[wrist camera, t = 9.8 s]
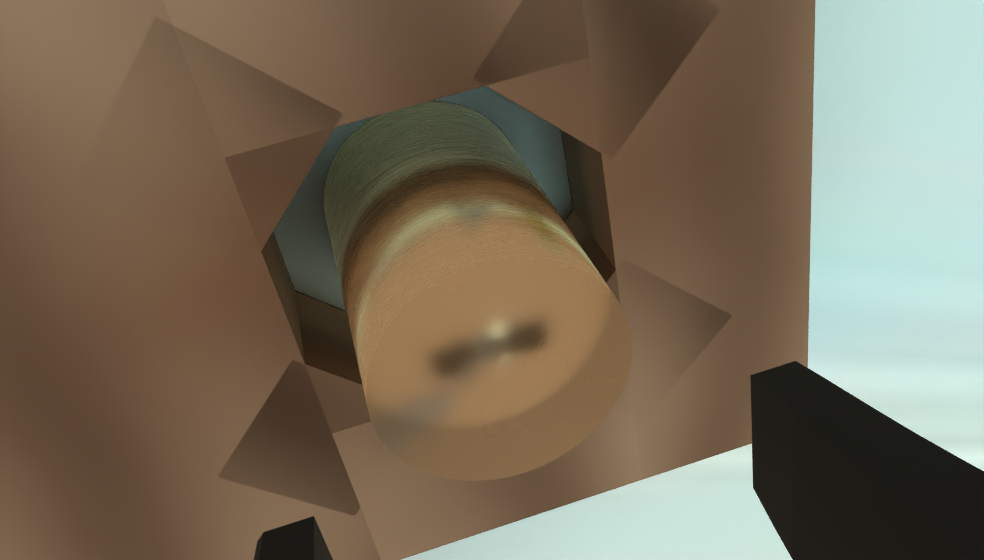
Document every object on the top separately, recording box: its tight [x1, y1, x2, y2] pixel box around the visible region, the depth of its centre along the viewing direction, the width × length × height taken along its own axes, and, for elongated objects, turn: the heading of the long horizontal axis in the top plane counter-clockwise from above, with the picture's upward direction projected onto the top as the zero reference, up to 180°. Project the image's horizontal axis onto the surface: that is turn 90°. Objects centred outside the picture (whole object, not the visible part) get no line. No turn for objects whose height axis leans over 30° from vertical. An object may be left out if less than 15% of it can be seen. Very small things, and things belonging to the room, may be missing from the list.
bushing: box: [324, 101, 632, 481], centre depth 16 cm, size 4×4×6 cm
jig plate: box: [0, 0, 815, 560], centre depth 17 cm, size 20×14×2 cm
